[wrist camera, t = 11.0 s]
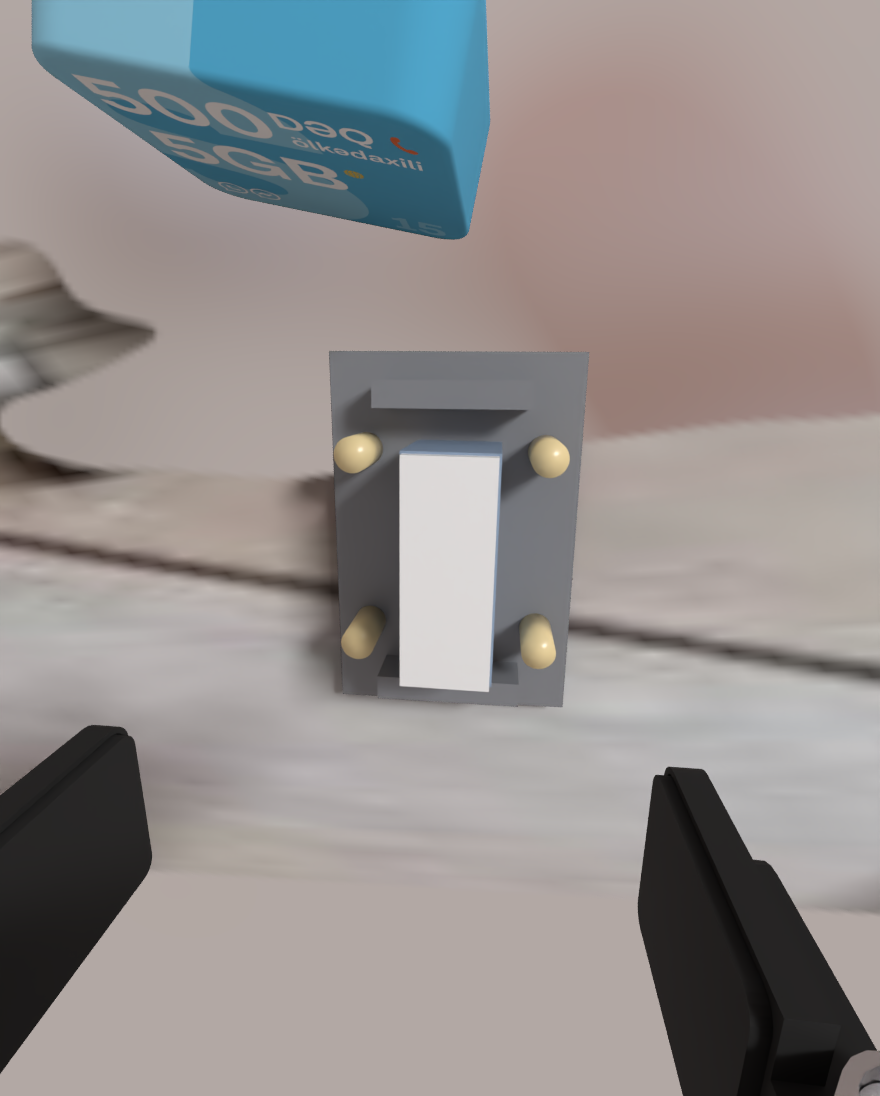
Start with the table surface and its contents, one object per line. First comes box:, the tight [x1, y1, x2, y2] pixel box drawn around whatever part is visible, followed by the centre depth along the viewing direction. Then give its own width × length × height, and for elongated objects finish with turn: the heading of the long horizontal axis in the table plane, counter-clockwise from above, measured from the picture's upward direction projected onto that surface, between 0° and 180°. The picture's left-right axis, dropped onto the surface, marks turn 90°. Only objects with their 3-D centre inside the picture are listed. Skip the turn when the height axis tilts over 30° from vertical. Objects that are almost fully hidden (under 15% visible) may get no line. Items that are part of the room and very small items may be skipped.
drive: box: [400, 440, 502, 692], centre depth 26 cm, size 4×10×6 cm, turn 179°
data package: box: [32, 0, 490, 239], centre depth 20 cm, size 12×4×12 cm, turn 78°
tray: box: [329, 351, 589, 707], centre depth 28 cm, size 12×18×4 cm, turn 179°
